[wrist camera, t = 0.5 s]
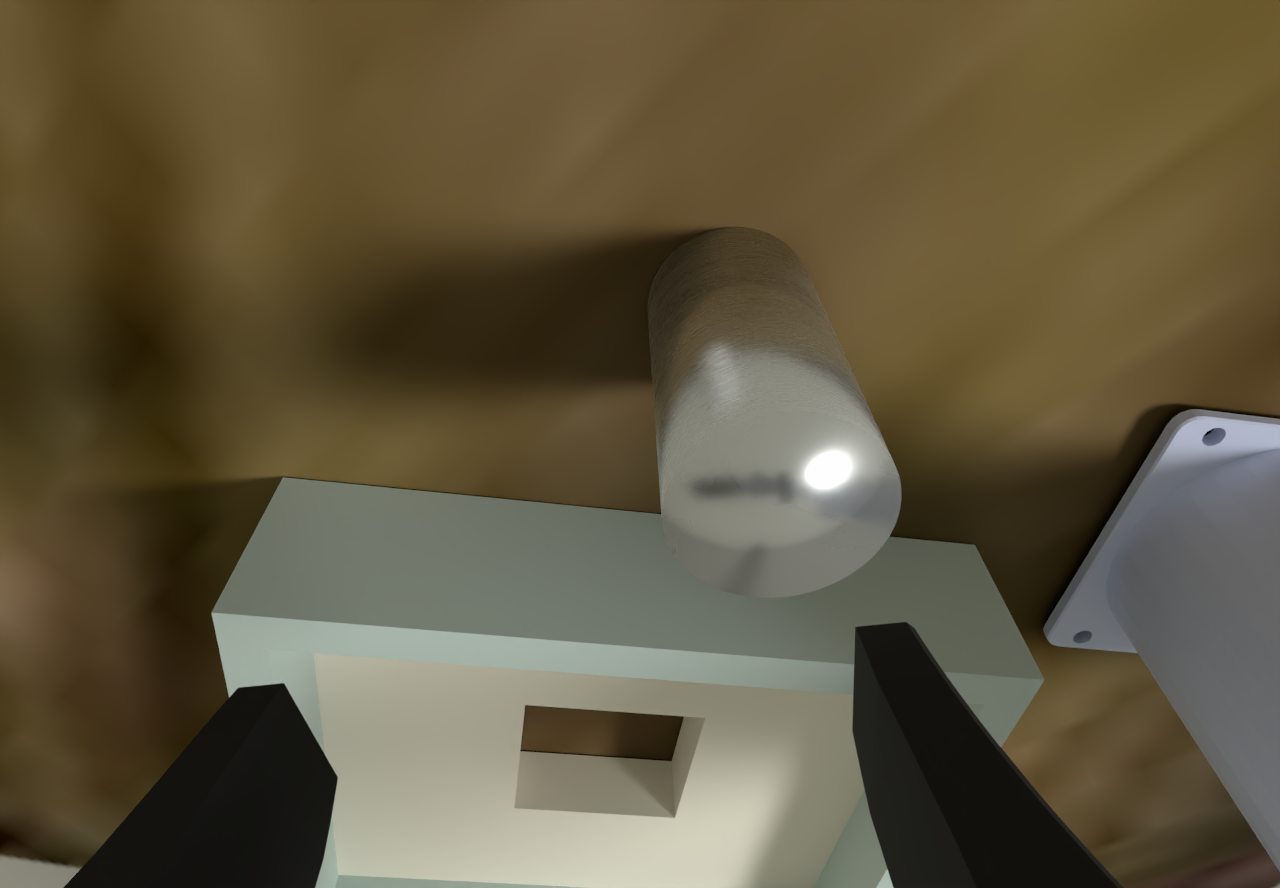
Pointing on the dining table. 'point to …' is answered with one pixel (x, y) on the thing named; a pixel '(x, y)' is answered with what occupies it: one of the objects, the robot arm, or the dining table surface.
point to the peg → (761, 423)
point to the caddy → (584, 690)
